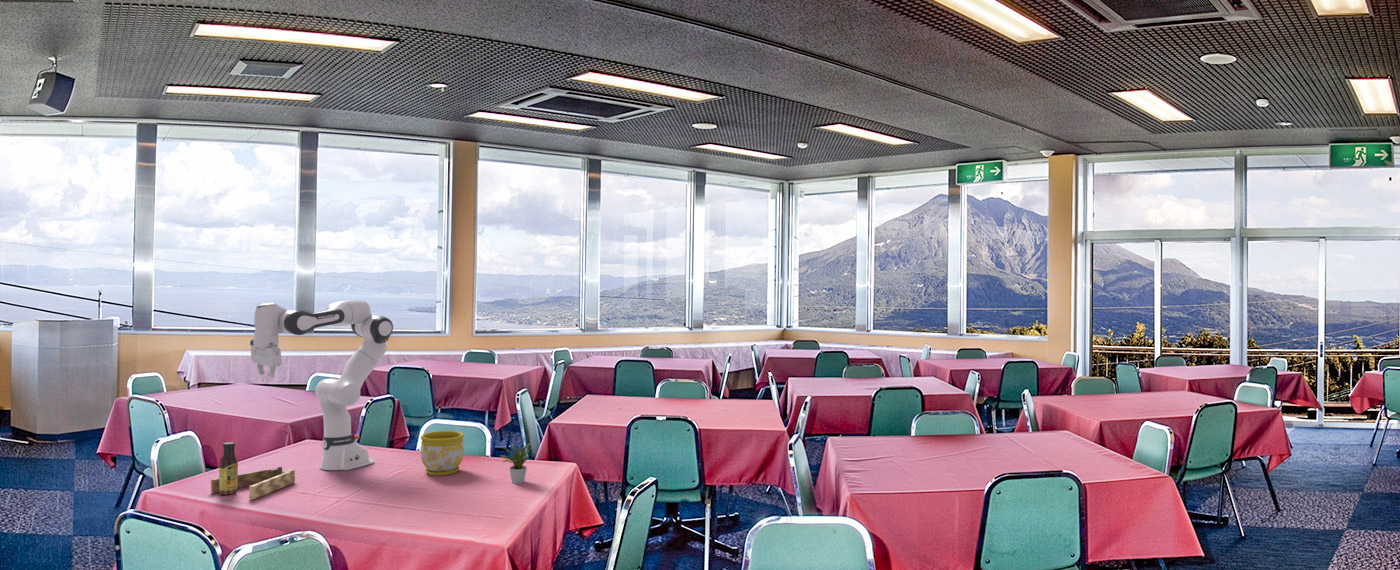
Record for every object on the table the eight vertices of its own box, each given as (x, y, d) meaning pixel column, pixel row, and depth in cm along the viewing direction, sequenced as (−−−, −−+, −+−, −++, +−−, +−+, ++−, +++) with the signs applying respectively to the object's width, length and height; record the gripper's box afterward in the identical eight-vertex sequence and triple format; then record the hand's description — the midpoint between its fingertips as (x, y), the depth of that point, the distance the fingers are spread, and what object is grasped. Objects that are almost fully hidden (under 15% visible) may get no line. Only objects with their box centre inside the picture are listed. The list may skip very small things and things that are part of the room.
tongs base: (278, 479, 333) (278, 463, 333) (286, 482, 328) (286, 467, 328) (211, 492, 313) (211, 476, 313) (219, 496, 308) (219, 479, 308)
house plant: (513, 475, 344) (514, 437, 344) (541, 478, 339) (542, 440, 339) (494, 483, 330) (494, 444, 330) (523, 487, 326) (523, 447, 325)
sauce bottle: (228, 496, 309) (228, 445, 308) (215, 495, 310) (214, 444, 310) (241, 491, 315) (241, 441, 315) (228, 490, 317) (228, 441, 316)
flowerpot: (460, 465, 360) (460, 429, 360) (466, 474, 344) (467, 437, 344) (418, 469, 353) (418, 432, 352) (423, 479, 336) (423, 440, 336)
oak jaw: (288, 481, 330) (288, 469, 330) (296, 481, 329) (296, 469, 329) (244, 499, 304) (244, 486, 304) (253, 499, 304) (253, 486, 304)
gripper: (285, 343, 323) (285, 377, 324) (263, 340, 336) (263, 372, 336) (269, 344, 318) (269, 378, 319) (247, 341, 331) (247, 374, 331)
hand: (266, 375), depth 328 cm, fingers open, 8 cm apart
